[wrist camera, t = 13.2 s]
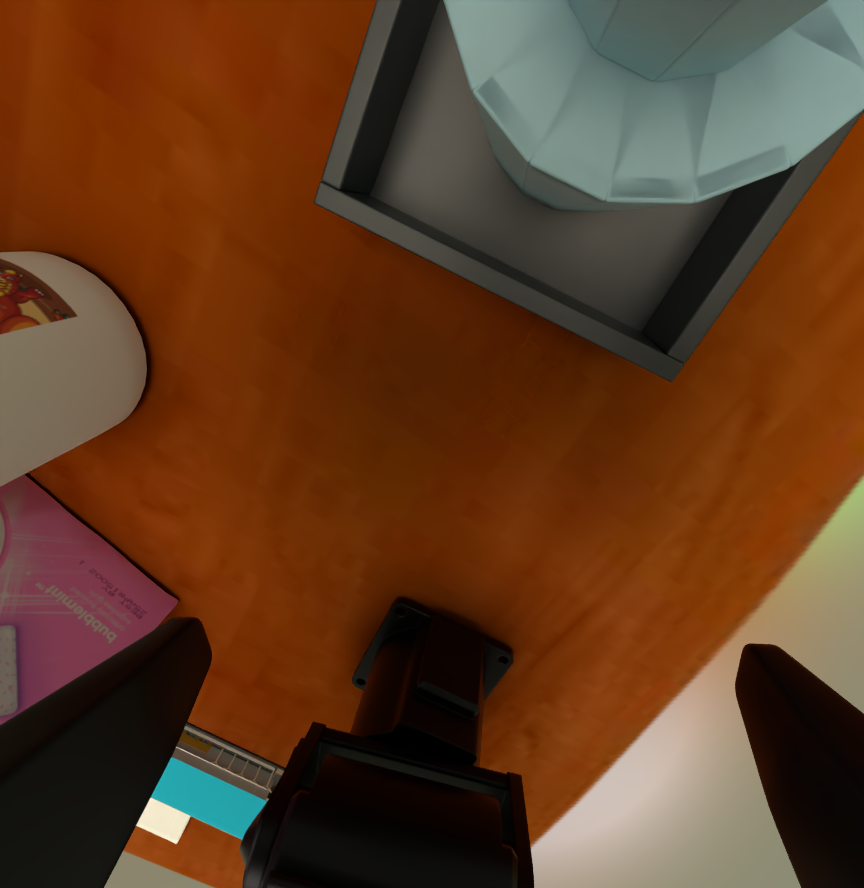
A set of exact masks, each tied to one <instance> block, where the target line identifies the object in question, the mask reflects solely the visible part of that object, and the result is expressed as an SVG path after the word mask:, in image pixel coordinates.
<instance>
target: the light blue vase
mask: <svg viewBox="0 0 864 888" xmlns="http://www.w3.org/2000/svg"><path fill="white" fill-rule="evenodd" d="M443 1H444V4H445V7H446V11H447V14H448V17H449V21H450V24H451V27H452V31H453V34H454V37H455V41H456V44H457V47H458V51H459V54H460V57H461V60H462V64H463V67H464V70H465V74H466V77H467V80H468V84H469V87H470V90H471V93H472V96H473V98H474V101H475V104H476V107H477V109H478V112H479V115H480V118H481V120H482V123H483V126H484V128H485V131H486V134H487V137H488V139H489V142H490V145H491V148H492V150H493V153H494V156H495V159H496V161H497V163H498V164H499V166H500V167H501V168H502V169H503V170H504V172H505V173H506V174H507V176H508V177H509V179H510V180H511V181H512V182H513V183H514V184H515V185H516V187H517V188H518V189H519V190H520V192H522V193H523V194H524V195H526V196H528V197H530V198H532V199H534V200H536V201H537V202H539V203H541V204H544V205H546V206H548V207H550V208H552V209H554V210H558V211H608V210H621V209H635V208H648V207H661V206H674V205H688V204H693V203H699V202H701V201H704V200H707V199H709V198H712V197H715V196H717V195H720V194H723V193H725V192H728V191H731V190H733V189H736V188H739V187H741V186H744V185H747V184H749V183H752V182H755V181H757V180H760V179H762V178H765V177H768V176H770V175H773V174H776V173H778V172H781V171H784V170H786V169H788V168H789V167H790V166H793V165H795V164H796V163H798V162H799V161H800V160H801V159H802V158H804V157H805V156H806V155H807V154H809V153H810V152H811V151H812V150H814V149H815V148H816V147H817V146H819V145H820V144H821V143H822V142H824V141H825V140H826V139H827V138H829V137H830V136H831V135H832V134H834V133H835V132H836V131H837V130H838V129H840V128H841V127H842V126H843V125H845V124H846V123H847V122H848V121H850V120H851V119H852V118H853V117H855V116H856V115H857V114H858V113H860V112H861V111H862V110H863V109H864V0H443Z"/></svg>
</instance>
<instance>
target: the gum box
mask: <svg viewBox="0 0 864 888" xmlns="http://www.w3.org/2000/svg"><path fill="white" fill-rule="evenodd" d="M178 602H179V601H178V600H177V599H175V598H174V597H172V596H171V595H169V594H167V593H166V592H165V591H163V590H162V589H161V588H160V587H159V586H157V585H156V584H155V583H154V582H153V581H151V580H150V579H149V578H148V577H147V576H145V575H144V574H143V573H142V572H141V571H139V570H138V569H137V568H136V567H135V566H134V565H132V564H131V563H130V562H129V561H128V560H127V559H126V558H125V557H124V556H123V555H121V554H120V553H119V552H118V551H117V550H115V549H114V548H113V547H112V546H111V545H109V544H108V543H107V542H106V541H105V540H103V539H102V538H101V537H100V536H99V535H97V534H96V533H94V532H93V531H91V530H90V529H89V528H88V527H86V526H85V525H84V524H83V523H81V522H80V521H79V520H77V519H76V518H75V517H74V516H72V515H71V514H70V513H69V512H68V511H67V510H65V509H64V508H63V507H62V506H61V505H60V504H59V503H58V502H57V501H56V500H54V499H53V498H52V497H51V496H50V495H49V494H47V493H46V492H45V491H44V490H42V489H41V488H40V487H39V486H38V485H36V484H35V483H34V482H33V481H32V480H30V479H29V478H28V477H27V476H26V475H22V476H20V477H18V478H16V479H14V480H12V481H10V482H8V483H6V484H4V485H2V486H1V487H0V725H1V724H2V723H4V722H6V721H7V720H9V719H10V718H12V717H14V716H15V715H17V714H19V713H20V712H22V711H23V710H25V709H27V708H28V707H30V706H32V705H33V704H35V703H36V702H38V701H40V700H41V699H43V698H45V697H46V696H48V695H49V694H51V693H53V692H54V691H56V690H58V689H59V688H61V687H62V686H64V685H66V684H67V683H69V682H71V681H72V680H74V679H75V678H77V677H79V676H80V675H82V674H84V673H85V672H87V671H88V670H90V669H92V668H93V667H95V666H97V665H98V664H100V663H101V662H103V661H105V660H106V659H108V658H110V657H111V656H113V655H114V654H116V653H118V652H119V651H121V650H123V649H124V648H126V647H127V646H129V645H131V644H132V643H134V642H136V641H137V640H139V639H140V638H142V637H144V636H145V635H147V634H148V633H150V632H152V631H153V630H155V629H156V628H157V627H158V625H159V624H160V623H161V622H162V621H163V620H164V619H165V617H166V616H167V615H168V614H169V613H170V612H171V611H172V610H173V608H174V607H175V606H176V605H177V604H178Z"/></svg>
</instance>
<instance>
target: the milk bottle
mask: <svg viewBox="0 0 864 888" xmlns="http://www.w3.org/2000/svg"><path fill="white" fill-rule="evenodd" d="M146 374H147V365H146V353H145V350H144V346H143V342H142V338H141V335H140V333H139V331H138V329H137V327H136V324H135V322H134V320H133V318H132V317H131V315H130V314H129V312H128V310H127V309H126V307H125V305H124V304H123V303H122V302H121V300H120V299H119V298H118V297H117V296H116V295H115V293H114V292H113V291H112V290H111V289H110V288H109V287H108V286H107V285H106V284H104V283H103V282H102V281H101V280H100V279H99V278H98V277H96V276H95V275H94V274H92V273H90V272H88V271H87V270H85V269H84V268H82V267H81V266H79V265H77V264H74V263H72V262H70V261H67V260H65V259H63V258H60V257H58V256H55V255H51V254H47V253H42V252H31V251H24V252H0V487H1V486H2V485H4V484H6V483H8V482H10V481H12V480H14V479H16V478H18V477H20V476H22V475H24V474H25V473H27V472H29V471H31V470H33V469H35V468H37V467H39V466H41V465H43V464H45V463H47V462H49V461H50V460H52V459H54V458H56V457H58V456H60V455H62V454H64V453H66V452H68V451H70V450H71V449H73V448H75V447H77V446H79V445H81V444H83V443H85V442H87V441H88V440H90V439H92V438H94V437H96V436H98V435H100V434H102V433H103V432H105V431H107V430H109V429H110V428H112V427H114V426H116V425H117V424H119V423H121V422H122V421H123V420H125V419H126V418H127V417H128V416H129V415H130V414H131V412H132V411H133V410H134V408H135V407H136V405H137V403H138V402H139V400H140V398H141V395H142V392H143V389H144V387H145V382H146Z"/></svg>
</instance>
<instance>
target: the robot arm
mask: <svg viewBox="0 0 864 888" xmlns="http://www.w3.org/2000/svg"><path fill="white" fill-rule="evenodd" d="M399 608H403V609H404V611H403V610H400V609H399ZM501 656H506V657H501ZM211 660H212V651H211V647H210V644H209V641H208V639H207V636H206V633H205V630H204V627H203V624H202V622H201V621H200V620H199V619H198V618H195V617H176V618H173V619H171V620H170V621H168V622H166V623H165V624H163V625H161V626H160V627H158V628H157V629H155V630H153V631H152V632H150V633H148V634H147V635H145V636H144V637H142V638H140V639H139V640H137V641H136V642H134V643H132V644H131V645H129V646H127V647H126V648H124V649H123V650H121V651H119V652H118V653H116V654H114V655H113V656H111V657H110V658H108V659H106V660H105V661H103V662H101V663H100V664H98V665H97V666H95V667H93V668H92V669H90V670H88V671H87V672H85V673H84V674H82V675H80V676H79V677H77V678H75V679H74V680H72V681H71V682H69V683H67V684H66V685H64V686H62V687H61V688H59V689H58V690H56V691H54V692H53V693H51V694H49V695H48V696H46V697H45V698H43V699H41V700H40V701H38V702H36V703H35V704H33V705H32V706H30V707H28V708H27V709H25V710H23V711H22V712H20V713H19V714H17V715H15V716H14V717H12V718H10V719H9V720H7V721H6V722H4V723H2V724H1V725H0V888H104V886H105V884H106V882H107V880H108V879H109V877H110V875H111V873H112V871H113V869H114V867H115V865H116V863H117V861H118V859H119V857H120V856H121V854H122V852H123V850H124V848H125V846H126V844H127V842H128V840H129V838H130V836H131V834H132V832H133V831H134V829H135V827H136V825H137V823H138V821H139V819H140V817H141V815H142V813H143V811H144V809H145V807H146V806H147V804H148V802H149V800H150V798H151V796H152V794H153V792H154V790H155V788H156V786H157V784H158V782H159V781H160V779H161V777H162V775H163V773H164V771H165V769H166V767H167V765H168V763H169V761H170V759H171V757H172V755H173V753H174V751H175V749H176V746H177V744H178V742H179V740H180V737H181V735H182V733H183V730H184V728H185V725H186V723H187V721H188V718H189V716H190V713H191V711H192V708H193V706H194V704H195V701H196V699H197V696H198V694H199V691H200V689H201V687H202V684H203V682H204V679H205V677H206V674H207V672H208V670H209V667H210V664H211ZM513 661H514V655H513V651H512V649H510V648H509V647H507V646H505V645H503V644H501V643H499V642H496V641H494V640H492V639H490V638H488V637H486V636H484V635H481V634H479V633H477V632H475V631H473V630H471V629H469V628H466V627H464V626H462V625H460V624H458V623H456V622H454V621H452V620H449V619H447V618H445V617H443V616H441V615H439V614H437V613H434V612H432V611H430V610H428V609H426V608H424V607H422V606H419V605H417V604H415V603H413V602H411V601H409V600H407V599H403V598H401V599H397V600H395V601H394V602H393V604H392V606H391V608H390V609H389V611H388V613H387V615H386V617H385V618H384V620H383V622H382V624H381V625H380V627H379V629H378V631H377V633H376V634H375V636H374V638H373V640H372V642H371V643H370V645H369V647H368V649H367V650H366V652H365V654H364V656H363V658H362V659H361V661H360V663H359V665H358V667H357V668H356V670H355V672H354V675H353V678H352V683H353V684H354V685H355V686H356V687H358V688H360V689H362V690H364V692H363V695H362V698H361V701H360V704H359V707H358V710H357V713H356V716H355V719H354V723H353V726H352V729H351V732H350V733H346V732H342V731H338V730H335V729H331V728H327V727H326V725H325V724H321V723H317V722H313V723H312V725H311V727H310V729H309V731H308V733H307V735H306V737H305V738H301V740H300V741H299V743H298V745H297V747H295V748H294V750H293V753H292V755H291V757H290V760H289V762H288V764H287V766H286V768H285V770H284V772H283V774H282V776H281V778H280V779H279V781H278V783H277V785H276V787H275V789H274V791H273V793H272V795H271V797H270V798H269V800H268V801H267V802H266V804H265V805H264V807H263V808H262V809H261V811H260V812H259V813H258V815H257V816H256V818H255V819H254V820H253V822H252V823H251V825H250V826H249V827H248V829H247V830H246V832H245V834H244V837H243V839H242V842H241V846H240V852H241V855H242V858H243V861H244V865H245V872H244V878H243V887H242V888H534V875H533V864H532V857H531V848H530V840H529V832H528V824H527V816H526V808H525V800H524V792H523V785H522V777H521V775H518V774H514V773H510V772H507V774H504V773H500V772H497V771H493V770H489V769H485V768H481V767H479V766H480V751H481V736H482V722H483V707H484V700H485V699H486V698H487V697H488V695H489V694H490V693H491V691H492V690H493V689H494V687H495V686H496V685H497V683H498V682H499V681H500V680H501V678H502V677H503V676H504V674H505V673H506V672H507V670H508V669H509V668H510V666H511V665H512V664H513ZM361 678H362V679H361ZM735 690H736V697H737V701H738V704H739V708H740V711H741V714H742V717H743V721H744V724H745V728H746V732H747V735H748V738H749V742H750V745H751V748H752V752H753V755H754V759H755V762H756V765H757V769H758V772H759V776H760V779H761V782H762V786H763V789H764V792H765V795H766V799H767V802H768V805H769V808H770V811H771V813H772V816H773V819H774V821H775V824H776V827H777V829H778V832H779V834H780V837H781V839H782V841H783V844H784V846H785V849H786V851H787V854H788V856H789V859H790V861H791V863H792V866H793V868H794V871H795V874H796V876H797V878H798V881H799V883H800V886H801V888H864V714H863V713H862V712H861V711H860V710H858V709H857V708H856V707H854V706H853V705H851V703H849V702H848V701H847V700H845V699H844V698H843V697H842V696H840V695H839V694H838V693H837V692H836V691H834V690H833V689H832V688H830V687H829V686H828V685H827V684H825V683H824V682H823V681H822V680H820V679H819V678H817V676H815V675H814V674H813V673H811V672H810V671H809V670H808V669H806V668H805V667H804V666H803V665H801V664H800V663H799V662H798V661H796V660H795V659H794V658H793V657H791V656H790V655H789V654H787V653H786V652H785V651H784V650H782V649H781V648H779V647H778V646H775V645H771V644H747V645H745V647H744V648H743V651H742V654H741V659H740V663H739V668H738V672H737V677H736V682H735Z"/></svg>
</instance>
